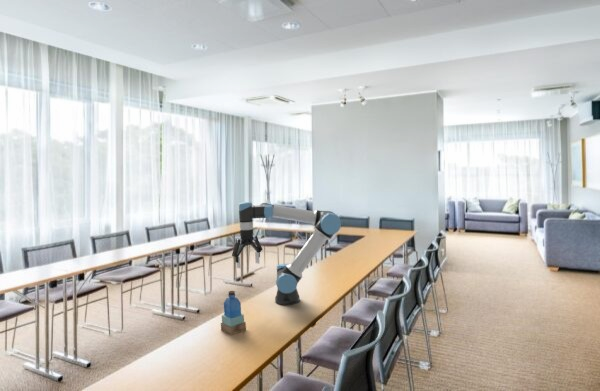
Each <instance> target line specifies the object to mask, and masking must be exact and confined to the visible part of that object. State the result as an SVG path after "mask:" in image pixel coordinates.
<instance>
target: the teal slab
mask: <svg viewBox="0 0 600 391" xmlns="http://www.w3.org/2000/svg"><path fill="white" fill-rule="evenodd" d="M243 322H245V314H244V313H241V315H239V316H236V317H233V318H229V317H227V316H226V315H224V314H222V315H221V323H223V324H225V325H227V326H229V327H233V326H236V325H238V324H241V323H243Z"/></svg>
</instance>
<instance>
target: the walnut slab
mask: <svg viewBox="0 0 600 391" xmlns="http://www.w3.org/2000/svg"><path fill="white" fill-rule="evenodd" d="M246 323H247V322H246V321H244V322H243V323H241V324H238V325H236V326H233V327H229V326H227V325H225V324H223V323H222V322H220V330H221V331H222V332H224V333H226V334H227V335H230V336H233V335H236V334H237V333H241V332H242V331H245V330H246V329H247V325H246Z"/></svg>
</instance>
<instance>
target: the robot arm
mask: <svg viewBox="0 0 600 391" xmlns="http://www.w3.org/2000/svg"><path fill="white" fill-rule="evenodd" d="M238 216H239V229H240V230H239V234H240V235H239V236H240V238H236V240H235V245H234V248H233V250H232V253H231V256H232V257H235V258H234V261H235V263H236V269H241V268H242V266H241V256H240V255H241V253H242V252H243V250H244V248H245V247H248V246H251V247H252V248H253V249H254V250H255V252H254V255H255V257H254V258H255V264H260V258H261V253H262V251H263V250H264V249H263V246H262V245H261V243H260V241H259V237H258V235H254V220H253V219H271V218H278V219H282V220H289V221H294V222H301V223H306V224H312V225H313V226H314V227H313V229H314V231H313V232H312V234H311V235H310V237H308V240H307V241H306V242H305V243H304V245H303V246H302V248H300V250H299V252H297V254H296V255H295V257H294V258H293V259H292V261H291V262H290V263H280V264H278V265H276V281H275V283H276V287H277V289H276V290H277V291H276V295H275V297H274V298H275V299H274V302H275V303H276V304H278V305H283V306H289V305H290V306H291V305H296V304H297V303H299V302H300V295H299V292H298V291H299V290H298V288H297V287H298V284H299V282H300V281H301V280H302V278H303V273H304V271H305V269H307V267H308V266H309V264H310V263H311V262H312V260H313V259H314V257H315V256H316V255H317V254H318V252H319V250H320V249H321V248H322V247H323V246H324V244H325V243H326V242H327V240H331V239H332V238H333V237H334V235H335V234H337V233H338V232H339V231H340V230H341V228H342V227H341V226H342V221H341V218H340V216H339V215H338V214H336V213H335V212H333V211H331V210H318V209H314V210H309V209H308V210H307V209H303V208H295V207H289V206H285V205H284V206H282V205H276V204H271V203H267V202H262V203H260V204H259V205H258V204H257V205H253V203H252V202H250V201H243V202H242V201H241V202H240V203H239V204H238Z"/></svg>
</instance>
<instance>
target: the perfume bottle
mask: <svg viewBox="0 0 600 391" xmlns="http://www.w3.org/2000/svg"><path fill="white" fill-rule="evenodd" d="M235 292H236V291H235V290H229V291H228V294H227V295H228V297H227V298H226V299H225V300H224V302H223V315H226V316H227V317H229V318H233V317H236V316H239V315H241V314H242V306H241V304H242V303H241V301H240V300H239V298H238V297H236V293H235Z"/></svg>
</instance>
